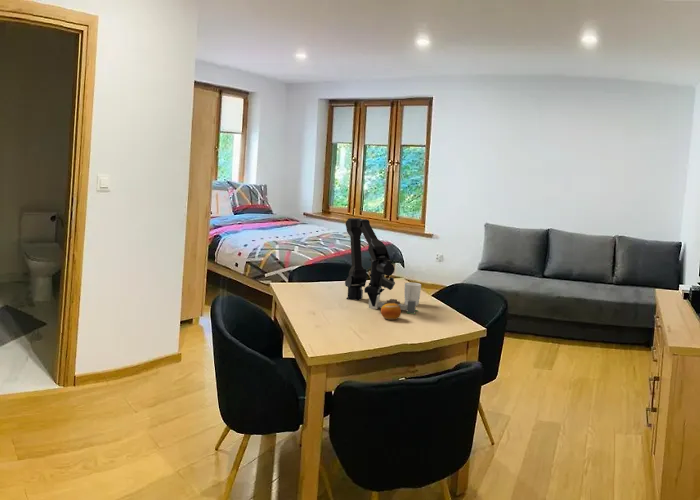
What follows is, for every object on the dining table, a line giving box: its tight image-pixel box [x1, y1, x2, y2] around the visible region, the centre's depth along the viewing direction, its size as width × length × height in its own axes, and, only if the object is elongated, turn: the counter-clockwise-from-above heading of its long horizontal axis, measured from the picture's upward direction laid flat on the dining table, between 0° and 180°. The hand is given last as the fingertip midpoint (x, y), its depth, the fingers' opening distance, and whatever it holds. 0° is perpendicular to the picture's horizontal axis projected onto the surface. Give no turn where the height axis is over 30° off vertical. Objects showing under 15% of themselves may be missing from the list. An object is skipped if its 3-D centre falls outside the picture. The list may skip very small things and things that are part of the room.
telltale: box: [406, 300, 416, 313], centre depth 281 cm, size 3×3×5 cm
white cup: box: [403, 281, 422, 307], centre depth 296 cm, size 8×8×10 cm
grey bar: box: [368, 294, 408, 311], centre depth 283 cm, size 18×4×6 cm, turn 74°
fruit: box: [380, 303, 402, 321], centre depth 266 cm, size 8×8×8 cm
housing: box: [384, 298, 419, 315], centre depth 282 cm, size 14×7×4 cm, turn 73°
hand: (374, 305), depth 285 cm, fingers closed on grey bar, 4 cm apart
